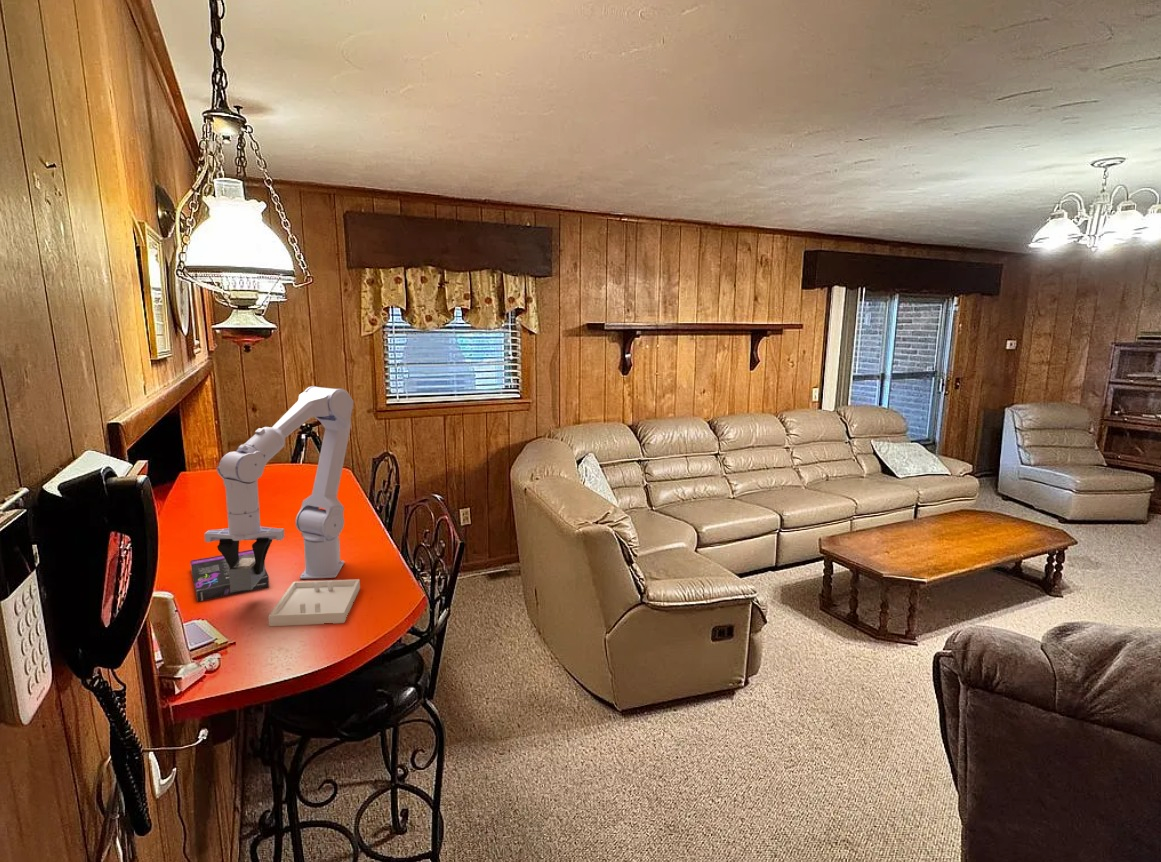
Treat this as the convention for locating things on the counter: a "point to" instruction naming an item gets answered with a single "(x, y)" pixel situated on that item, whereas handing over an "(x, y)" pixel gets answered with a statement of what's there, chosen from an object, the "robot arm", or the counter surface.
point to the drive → (244, 573)
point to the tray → (315, 603)
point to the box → (217, 577)
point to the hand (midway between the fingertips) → (247, 573)
